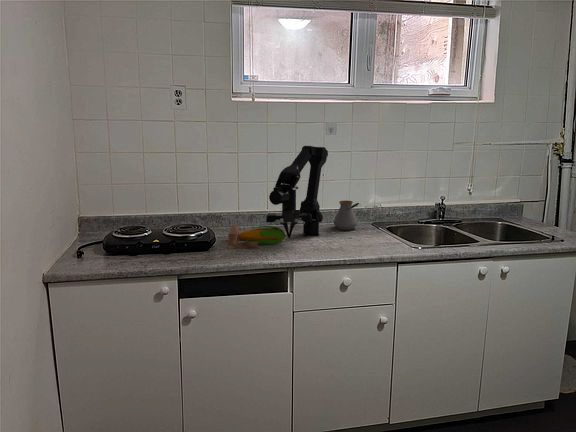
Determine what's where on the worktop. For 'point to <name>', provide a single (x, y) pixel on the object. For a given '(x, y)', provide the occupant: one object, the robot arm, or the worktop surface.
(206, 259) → the worktop surface
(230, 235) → the guide bay
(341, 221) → the coffee pot
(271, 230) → the corn
